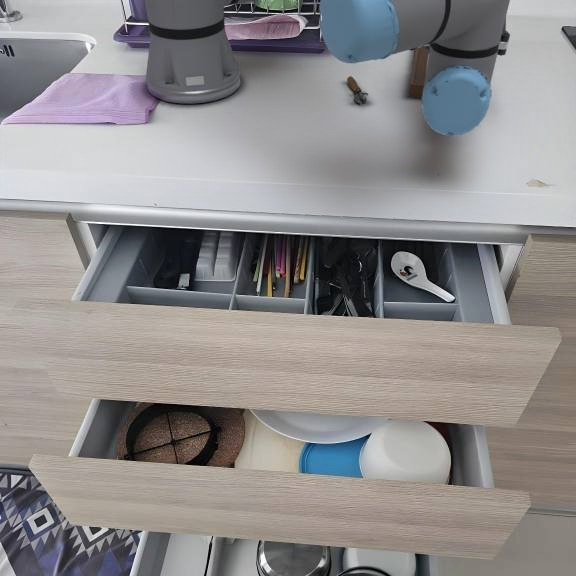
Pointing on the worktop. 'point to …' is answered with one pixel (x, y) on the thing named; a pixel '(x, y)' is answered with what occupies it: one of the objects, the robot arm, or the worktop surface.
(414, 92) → the tray
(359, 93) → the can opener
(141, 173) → the worktop surface
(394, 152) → the worktop surface
